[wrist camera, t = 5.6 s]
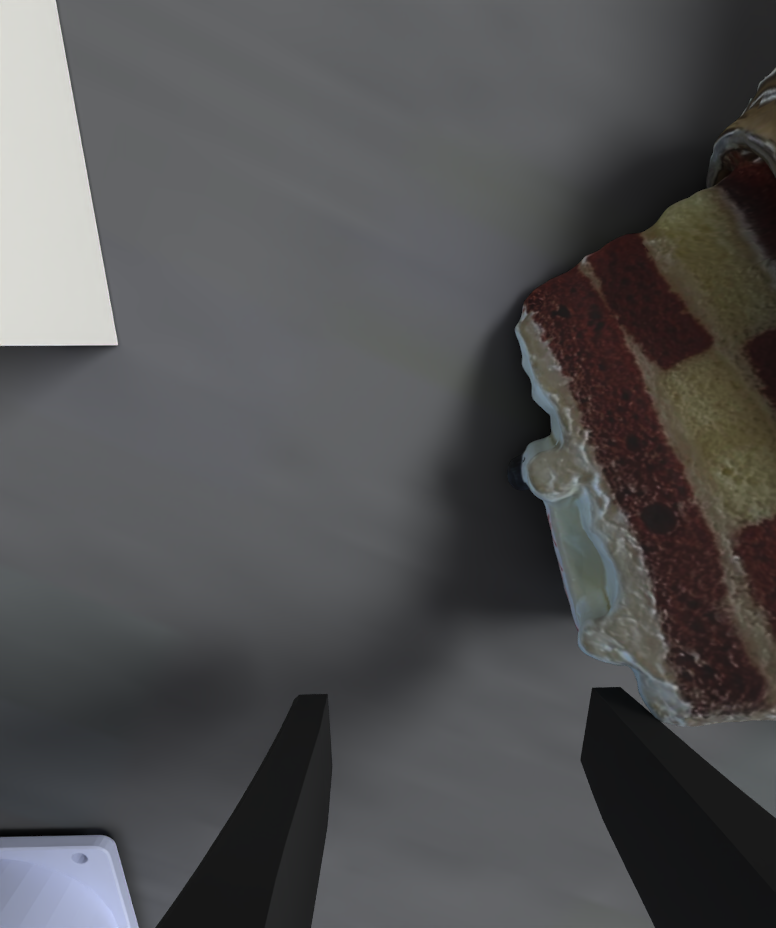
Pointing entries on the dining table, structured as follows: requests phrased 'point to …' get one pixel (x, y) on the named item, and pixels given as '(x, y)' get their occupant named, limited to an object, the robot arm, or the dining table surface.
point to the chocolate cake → (670, 438)
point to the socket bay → (45, 193)
